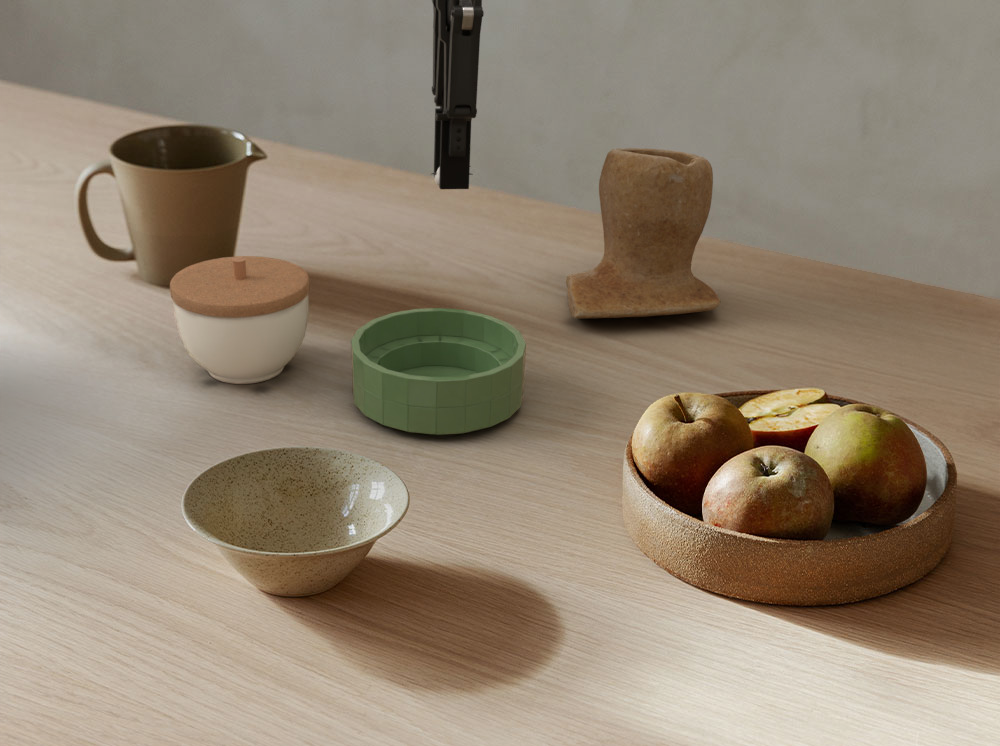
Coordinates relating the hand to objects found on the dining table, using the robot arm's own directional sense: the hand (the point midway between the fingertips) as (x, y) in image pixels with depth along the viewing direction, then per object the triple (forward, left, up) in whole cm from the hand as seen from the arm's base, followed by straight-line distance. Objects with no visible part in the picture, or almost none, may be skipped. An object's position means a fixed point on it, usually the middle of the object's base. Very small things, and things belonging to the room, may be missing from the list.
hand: (450, 181), depth 105 cm
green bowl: (-5, -26, -10) cm, 28 cm away
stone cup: (+16, -9, -10) cm, 21 cm away
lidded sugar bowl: (-19, -18, -10) cm, 28 cm away
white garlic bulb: (0, 0, -1) cm, 1 cm away
